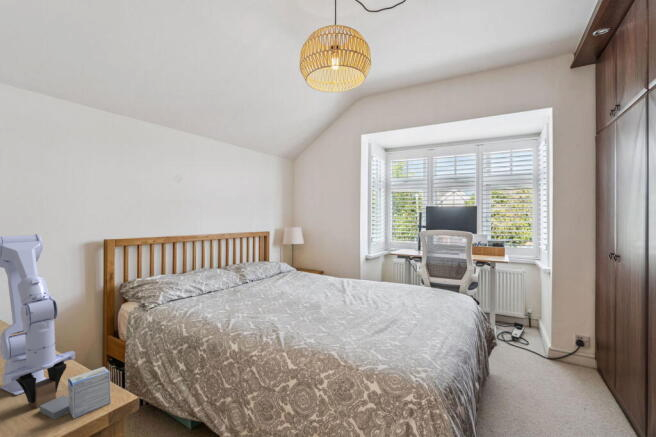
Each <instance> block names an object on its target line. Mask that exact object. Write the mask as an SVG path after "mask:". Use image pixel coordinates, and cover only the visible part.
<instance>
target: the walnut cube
mask: <svg viewBox="0 0 656 437" xmlns="http://www.w3.org/2000/svg"><path fill="white" fill-rule="evenodd" d="M46 378H47V379H45V380H42V381H40V382H37V383H36V384H35V402H34V403H30V402H28V403H29V404H28V405H29V406H31V407H33V408H35V409H40V405H43V404H45V403H47V402H49V401H52V400H54V399H56V398H57V395H56V394H57V392H56V388H55V381H53V380H50V379H49V377H46Z"/></svg>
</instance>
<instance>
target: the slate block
mask: <svg viewBox="0 0 656 437" xmlns="http://www.w3.org/2000/svg"><path fill="white" fill-rule="evenodd" d="M39 412H40V413H41V414H43V415H45V416H46V417H49V418H51V419H53V420H57V419H59V418H60V417H62V416H64V415H66V414H68V413H70V411H69V396H67V395H61V396H58V397H56V399H54V400H52V401H49V402H47V403H45V404H43V405H40V407H39Z"/></svg>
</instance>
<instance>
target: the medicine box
mask: <svg viewBox="0 0 656 437" xmlns="http://www.w3.org/2000/svg"><path fill="white" fill-rule="evenodd" d="M67 384H68V385H67V386H68V387H67V389H68V398H69V411H70V412H69V413H70V414H71V416H72V418H73V419H77V418H79V417H81V416H84V415H85V414H88V413H91V412H93V411H95V410H98V409H99V408H102V407H104V406H105V407H106V406H107V405H110V404H111V403H112V396H111V394H112V393H111V391H112V390H111V371H109V369H108V368H106V367H105V366H102V367H99V368H95V369H92V370H90V371H87V372H83V373H81V374H78V375H75V376H73V377H69V378H68V379H67Z"/></svg>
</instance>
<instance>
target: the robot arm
mask: <svg viewBox="0 0 656 437" xmlns="http://www.w3.org/2000/svg"><path fill="white" fill-rule="evenodd" d="M42 252H43V238H42V236H41V235H40V234H38V233H35V234H26V235H25V234H22V235H8V236H7V235H4V236H0V268H2V269H4V271H5V274H6V277H7V284H8V285H7V286H8V292H9V294H8V295H9V302H10V309H11V318H12V323H11V325H9V326H8V327H6V328H5V329H4V330H3V331H2V332H1V334H0V355H1V358H2V359H3V360H5V363H4V373H3V374H2V383H3V384H4V385H2V386H1V385H0V389H2V390H4V391H5V392H8V393H10V394H12V395H15V396H18V395H20V394H23V393H24V395H25V396H26V399H27V402H28V403H29V402H30V403H34V402H35V384H36V383H37V382H40V381H42V380H45V379H47V378H48V379H50V380H53V381H55V388H56V393H57V392H58V388H59V384H60V382H61V381H60V380H61V378H62V376H63V374H64V372H65V371H66V370H67V363H65V362H68V361H72V360H75V359H76V352H75V351H74V350H70V351H66V352H63V353H60V354H56V334H55V333H56V331H55V320H56V319H57V318H58V313H59V312H58V304H57V300H56V298H55V297H54V296H53V295H52V294H50V291H49V289H48V288H49V287H48V285H47V284H48V283H47V281H46V279H45V278H44V277H41V276H39V271H38V270H39V269H38V263H37V262H38V260H39V259H40V256H41V254H42ZM44 370H46V371H47V375H48V377H45V373H44V372H45V371H44Z"/></svg>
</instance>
